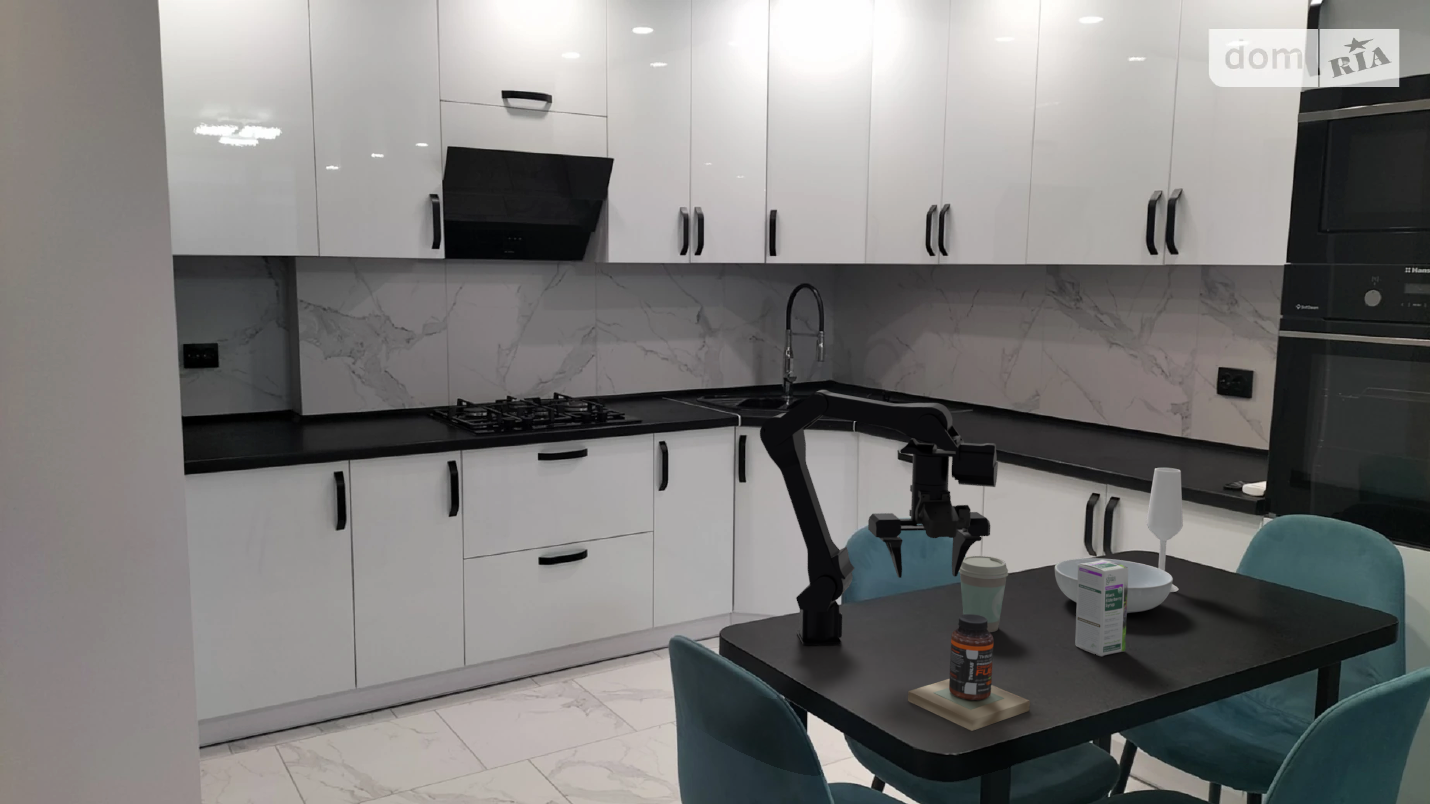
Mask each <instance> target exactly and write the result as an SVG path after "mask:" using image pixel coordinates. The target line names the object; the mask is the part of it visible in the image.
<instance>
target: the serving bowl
mask: <svg viewBox="0 0 1430 804" xmlns="http://www.w3.org/2000/svg"><path fill="white" fill-rule="evenodd" d="M1100 560H1106V561H1111V562H1115V563H1118V564H1121V565H1124V566H1126V567H1128V594H1127V614H1130V613H1138V612H1145V611H1148V610H1152V609H1154V608H1157V607H1158V606H1160V605H1161V604H1162V603H1163V602H1164V601H1165V600H1166V599H1167V597H1168V596H1169V594H1170V593H1171V592H1170V590H1171V587H1172V584H1173V580H1174V578H1173V576H1172V575H1171V574H1170V573H1169V572H1167V571H1166V570H1165V571H1163V570H1161V569H1159V567H1156V566H1152V565H1148V564H1144V563H1139V562H1134V561H1129V560H1122V559H1121V560H1120V559H1115V558H1113V559H1111V558H1095V557H1094V558H1093V557H1091V558H1090V557H1089V558H1083V557H1082V558H1072V559H1066V560H1062V561H1060V562H1058V563H1056V564H1055V566H1054V576H1055V580H1056V584H1057V586H1058V587H1059V589H1060V591H1061V592H1062V593H1063V594H1064V595H1065V596H1066V597H1067V598H1068V599H1070V600H1071V601H1072V602H1074V603H1076V604H1077V579H1078V564H1081V563H1089V562H1095V561H1100Z"/></svg>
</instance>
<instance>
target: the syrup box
mask: <svg viewBox="0 0 1430 804" xmlns="http://www.w3.org/2000/svg"><path fill="white" fill-rule="evenodd" d="M1127 594H1128V567H1126V566H1124V565H1121V564H1118V563H1115V562H1111V561H1106V560H1100V561H1095V562H1089V563H1081V564H1078V579H1077V603H1076V613H1075V615H1076V616H1075V639H1074V640H1075V643H1074V644H1075V646H1076V647H1077V648H1079V649H1081V650H1084V651H1086V652H1089V653H1091V654H1093V655H1095V654H1096V656H1099V657H1104V656H1107V655H1112V654H1117V653H1123V652H1125V651H1126V645H1127V644H1126V638H1127V637H1126V636H1127V635H1126V634H1127V618H1128V617H1127V614H1128V613H1127Z"/></svg>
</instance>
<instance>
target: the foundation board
mask: <svg viewBox="0 0 1430 804" xmlns="http://www.w3.org/2000/svg"><path fill="white" fill-rule="evenodd" d="M949 679H950V678H947V679H944V680H941V681H938V682H935V683H932V684H928V685H924V686H921V687H918V688H914V689H912V690H908V692H907V694H908V695H907V699H908V700H907V702H909V703H911V704H913V705H916V706H918V707H919V708H922V709H924V710H926V711H929V712H931V713H933V714H935V715H937V716H938V717H941V718H943V719H945V720H947V721H950V722H952V723H954V724H956V725H958V726H960V727H962V728H965V729H966V730H969V731H971V732H973V731H975V730H979V729H981V728H984V727H988V726H990V725H992V724H996V723H998V722H1000V721H1004V720H1007V719H1010V718H1012V717H1016V716H1018V715H1021V714H1024V713H1027V712H1030V704H1031V703H1030V702H1031V700H1030V699H1026V698H1024V697H1023V696H1019V695H1017V694H1014V693H1011V692H1009V691H1007V690H1004V689H1002V688H1000V687H997V686H996V685H993V684H992V685H991V694H990V696H989V697H988V698H986V699H983V700H976V701H975V700H965V699H962V698H959V697H956V696H955V695H953V694H952V693H951V692H950V690H949Z"/></svg>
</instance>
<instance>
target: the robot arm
mask: <svg viewBox="0 0 1430 804" xmlns="http://www.w3.org/2000/svg"><path fill="white" fill-rule="evenodd" d="M822 417H830V418H835V419H838V420H839V419H840V420H846V421H851V422H856V423H857V422H858V423H862V424H866V425H867V424H868V425H872V426H878V427H882V428H883V427H884V428H888V429H891V430H894V431H896V432H899V433H900V434H903V435H905V436H907V437H908V438H909V437H910V438H911V439H909V441H908V443H907V444H906V445H905V446H904V447H902V448H901V449H900V453H901V454H902V455H903V454H904V455H912V474H911V475H912V477H911V478H912V479H911V484H910V486H909V487H910V489H909V491H910V492H911V506H910V507H911V508H910V509H909V511H908V512H909V514H908V515H909V516H910V518H899V517H898V516H896V515H895V514H894V513H893V512H890V513H889V512H888V513H887V512H886V513H883V512H881V513H880V512H879V513H872V514H871V515H870V516H869V517H868V521H867V522H868V525H867V530H868V531H869V532H870V533H871V534H872V535H873V536H874V537H875V538H879V539H880V540H881V542H883V543H885V545H886V548H887V550H888V552H889V556H890V558H891V560H892V563H893V567H894V570H895V572H896V576H897V577H898V578H902V575H903V558H902V543H903V539H902V538H901V537H900V535H901V533H902V532H905V531H906V532H907V531H914V532H915V531H925V535H926V536H927V537H928V538H931V539H938V538H948V539H949V538H950V539H952V548H951V549H952V551H951V552H952V553H951V571H952V572H951V574H952V576H953V577H954V578H956V577H957V576H958V574H959V573H960V572H959V570H960V567H961V565H962V562H963V560H964V558H965V557H966V556H967V554H968V551H969V550H970V548H971V546H972V545H974V544H975V543H976V542H980V541H982V539H983V537H989V536H991V522H990V520H989V518H987V517H985V516H984V515H982V514H981V513H979V512H978V511H971V508H970V506H969V505H968V504H958V505H953V504H952V501H951V500H952V499H951V498H952V497H951V491H950V490H949V476H950V475H949V471H950V458H951V478H953V479H954V480H955V481H957V483H958V485H960V486H961V485H962V486H976V487H990V488H996V485H997V480H998V469H999V464H998V461H997V444H996V443H993V442H991V443H989V442H986V443H970V442H965V441H964V439H963V438H962V436H961V435H960V434H959V432H958V430H957V429H956V428H955V426H954V425H953V417H952V412H950V410H949V408H947V406H945V405H944V404H941V403H938V402H913V403H912V402H911V403H893V402H887V401H881V400H876V399H875V400H874V399H872V398H871V399H869V398H865V397H858V396H852V395H846V394H841V393H835V392H831V391H829V390H827V389H820V390H818V391H815V392H812V393H810V395H809V396H808V397H807V398H806V399H804V400H803V401H801V402H800V403H799V404H798V405H796V406H794V407H793V408H792V409H790V410H788V411H787V412H784V413H783V412H782V413H780V414H778V415H775V416H772V417H770V418H768V419H766V420H765V421H764V422H763V423H762V425H761V427H760V430H759V437H760V442H761V443H762V445H763V447H764V448H765V450H766V453H767V455H768V456H769V458H770V459H771V460H772V462H773V463H774V464H775V466H777V468H778V469H779V470H780V472H781V474H782V478H783V481H784V485H785V486H786V491H787V493H788V495H789V496H788V497H789V500H790V502H791V504H792V505H791V506H792V508H793V511H794V515H795V517H796V521H797V522H798V525H799V526H798V527H799V529H800V532H801V535H802V538H803V540H804V544H805V547H806V550H807V574H808V581H809V584H808V585H807V586H806V587H805V588H804V589H803V590H802V591H801V592H800V593H799V594H798V595H797V596H796V597H795V599H796V602H797V605H798V608H799V617H798V618H799V620H798V621H799V623H798V624H799V626H798V627H799V628H798V629H797V630H796V634H797V636H798V637H799V640H800V641H801V644H802V645H803V646H823V645H824V646H825V645H826V646H828V645H841V644H842V640H841V638H842V636H843V635H842V634H843V613H842V612H841V611H840V605H839V603H838V602H837V600H838V599H839V598H841V596H842V595H843V594H844V593H845V592H846V591H847V589H848V588H849V587H850V586H851V583H852V581H853V571H854V570H855V567H854V565H853V564H852V562H851V560H850V556H849V550H848V547H843V548H840V549H839V547H838V546H837V545H836V543H835V542H834V541H833V538H832V536H831V533H830V530H829V528H828V525H827V521H826V518H825V516H824V512H823V510H822V507H821V504H820V500H819V498H818V495H817V491H816V489H815V486H814V483H813V479H812V477H811V473H810V471H809V468H808V464H807V458H806V457H807V449H806V448H807V445H806V444H807V443H806V436H805V430H806V429H807V428H809V427H810V426H812V425H813V424H814V423H815V422H817V421H818V420H819V419H821V418H822ZM918 441H920V442H921V443H920V442H918ZM923 442H924V443H923Z"/></svg>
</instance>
